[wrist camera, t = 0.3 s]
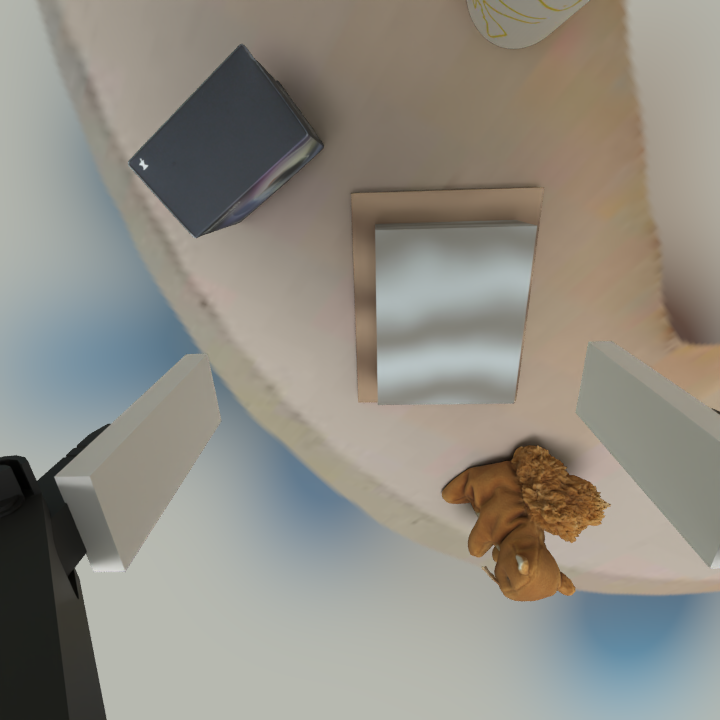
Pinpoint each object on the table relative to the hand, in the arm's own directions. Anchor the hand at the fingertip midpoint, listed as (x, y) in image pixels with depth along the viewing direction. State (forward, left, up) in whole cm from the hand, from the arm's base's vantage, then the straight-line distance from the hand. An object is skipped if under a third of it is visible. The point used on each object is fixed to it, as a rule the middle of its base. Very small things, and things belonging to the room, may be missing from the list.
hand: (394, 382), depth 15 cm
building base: (+4, +5, -26) cm, 27 cm away
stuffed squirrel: (+25, +14, -26) cm, 39 cm away
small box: (-9, -11, -26) cm, 30 cm away
